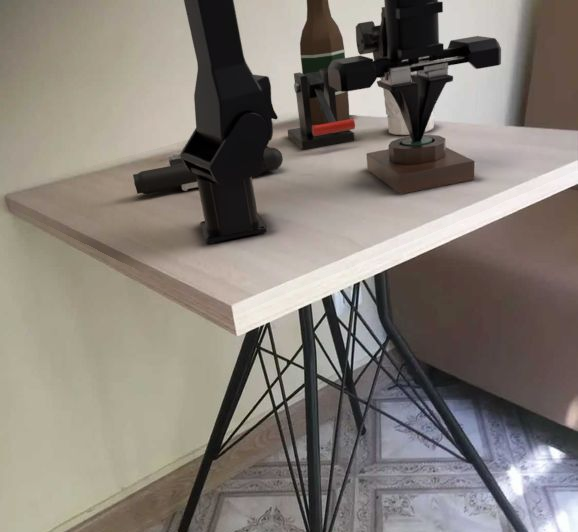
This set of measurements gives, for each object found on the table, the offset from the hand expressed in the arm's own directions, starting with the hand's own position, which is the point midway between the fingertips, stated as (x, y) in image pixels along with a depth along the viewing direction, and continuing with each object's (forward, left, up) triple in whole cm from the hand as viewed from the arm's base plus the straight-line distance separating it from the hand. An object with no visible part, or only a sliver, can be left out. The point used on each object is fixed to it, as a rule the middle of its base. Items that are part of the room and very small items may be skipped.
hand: (416, 140), depth 83 cm
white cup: (+23, -8, -4) cm, 25 cm away
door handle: (+19, +24, -4) cm, 31 cm away
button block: (0, 0, -4) cm, 4 cm away
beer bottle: (+41, 0, -4) cm, 41 cm away
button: (0, 0, -2) cm, 2 cm away
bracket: (+28, +5, -4) cm, 29 cm away
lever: (+24, +5, +1) cm, 25 cm away
